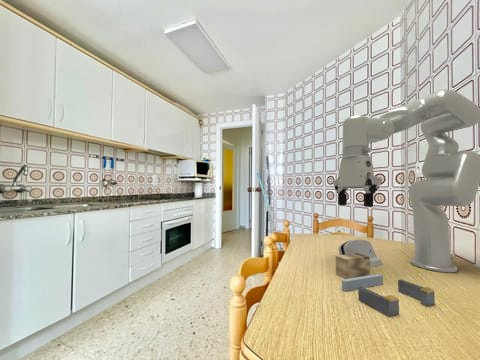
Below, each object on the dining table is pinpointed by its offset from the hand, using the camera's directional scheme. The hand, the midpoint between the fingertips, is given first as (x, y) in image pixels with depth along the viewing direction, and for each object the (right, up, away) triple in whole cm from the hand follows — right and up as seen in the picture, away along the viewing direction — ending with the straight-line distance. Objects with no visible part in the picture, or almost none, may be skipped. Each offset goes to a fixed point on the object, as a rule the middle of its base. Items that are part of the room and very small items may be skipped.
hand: (354, 205), depth 67 cm
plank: (-3, -21, -10) cm, 24 cm away
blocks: (0, -20, -18) cm, 27 cm away
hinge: (+7, -23, +9) cm, 25 cm away
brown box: (-1, -22, -2) cm, 22 cm away
